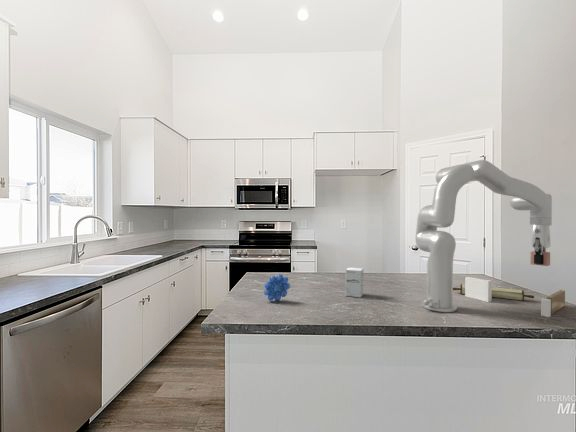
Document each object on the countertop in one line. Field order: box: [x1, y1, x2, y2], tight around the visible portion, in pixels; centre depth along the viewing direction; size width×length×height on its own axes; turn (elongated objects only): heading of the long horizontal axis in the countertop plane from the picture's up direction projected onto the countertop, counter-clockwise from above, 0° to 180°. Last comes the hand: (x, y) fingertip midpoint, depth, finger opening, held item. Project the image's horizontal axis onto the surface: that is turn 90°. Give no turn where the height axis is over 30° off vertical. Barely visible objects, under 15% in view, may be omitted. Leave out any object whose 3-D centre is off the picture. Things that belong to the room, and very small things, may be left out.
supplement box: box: [344, 267, 364, 299], centre depth 150 cm, size 7×7×13 cm
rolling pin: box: [453, 283, 535, 302], centre depth 147 cm, size 32×6×5 cm, turn 60°
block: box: [530, 250, 551, 267], centre depth 139 cm, size 4×6×6 cm
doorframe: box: [464, 276, 552, 318], centre depth 134 cm, size 5×33×9 cm, turn 31°
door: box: [545, 289, 566, 315], centre depth 127 cm, size 2×21×6 cm, turn 127°
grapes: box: [263, 273, 291, 302], centre depth 140 cm, size 12×7×12 cm, turn 95°
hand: (540, 263), depth 139 cm, fingers closed on block, 4 cm apart
